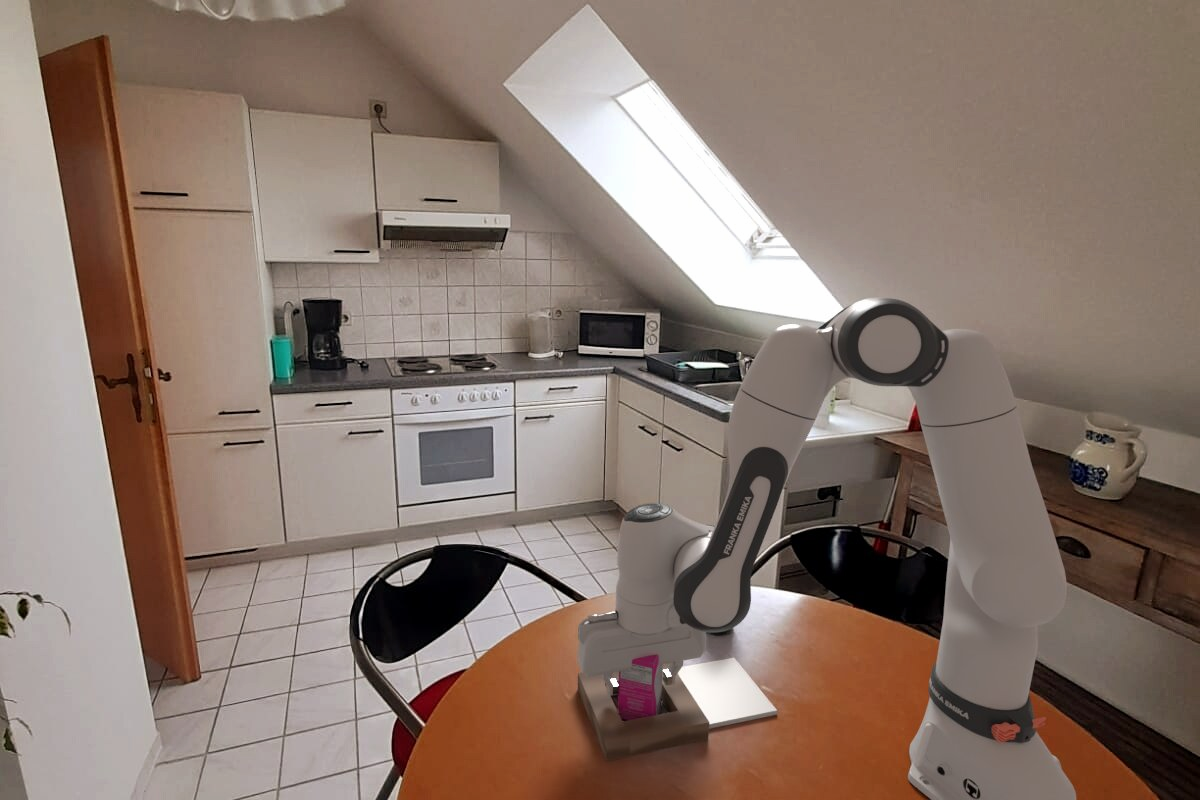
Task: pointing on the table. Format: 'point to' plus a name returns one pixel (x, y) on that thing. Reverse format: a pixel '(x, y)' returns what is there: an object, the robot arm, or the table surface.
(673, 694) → the walnut holder
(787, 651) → the table surface
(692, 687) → the white rectangular plate
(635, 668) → the supplement box
